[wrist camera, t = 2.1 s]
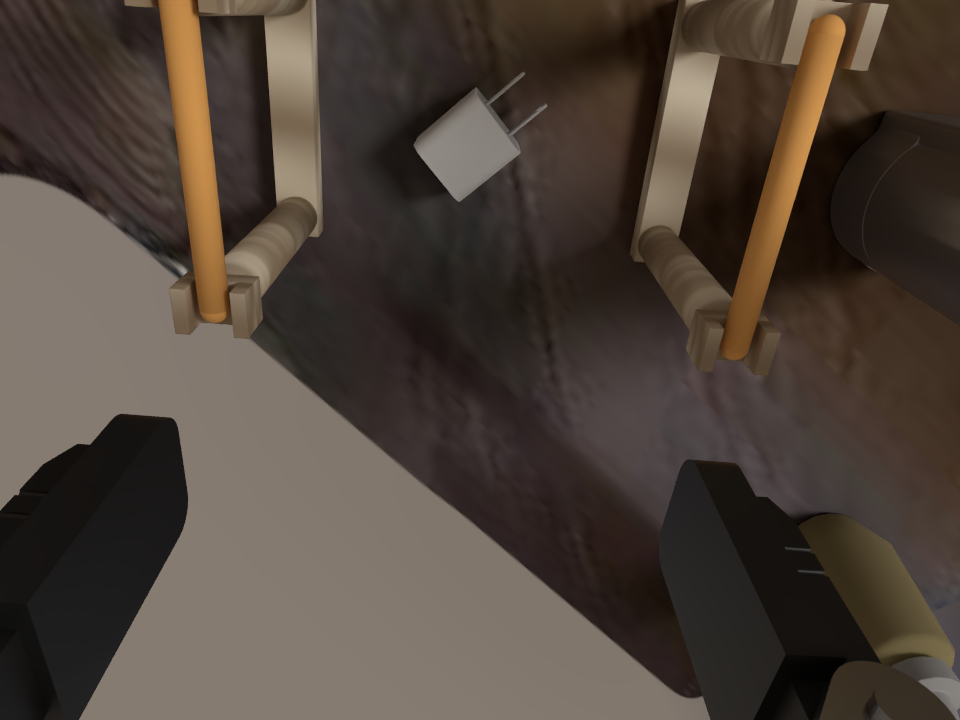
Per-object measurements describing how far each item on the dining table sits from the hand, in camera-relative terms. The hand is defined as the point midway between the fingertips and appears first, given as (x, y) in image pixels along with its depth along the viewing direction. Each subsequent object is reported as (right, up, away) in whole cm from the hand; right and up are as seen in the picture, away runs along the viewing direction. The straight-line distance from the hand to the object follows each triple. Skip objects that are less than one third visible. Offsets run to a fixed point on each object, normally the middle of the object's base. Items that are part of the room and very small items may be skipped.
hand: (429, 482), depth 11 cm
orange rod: (-10, +9, +14) cm, 19 cm away
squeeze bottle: (+29, -13, +43) cm, 53 cm away
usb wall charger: (+1, +16, +28) cm, 32 cm away
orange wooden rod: (+12, +8, +15) cm, 21 cm away
